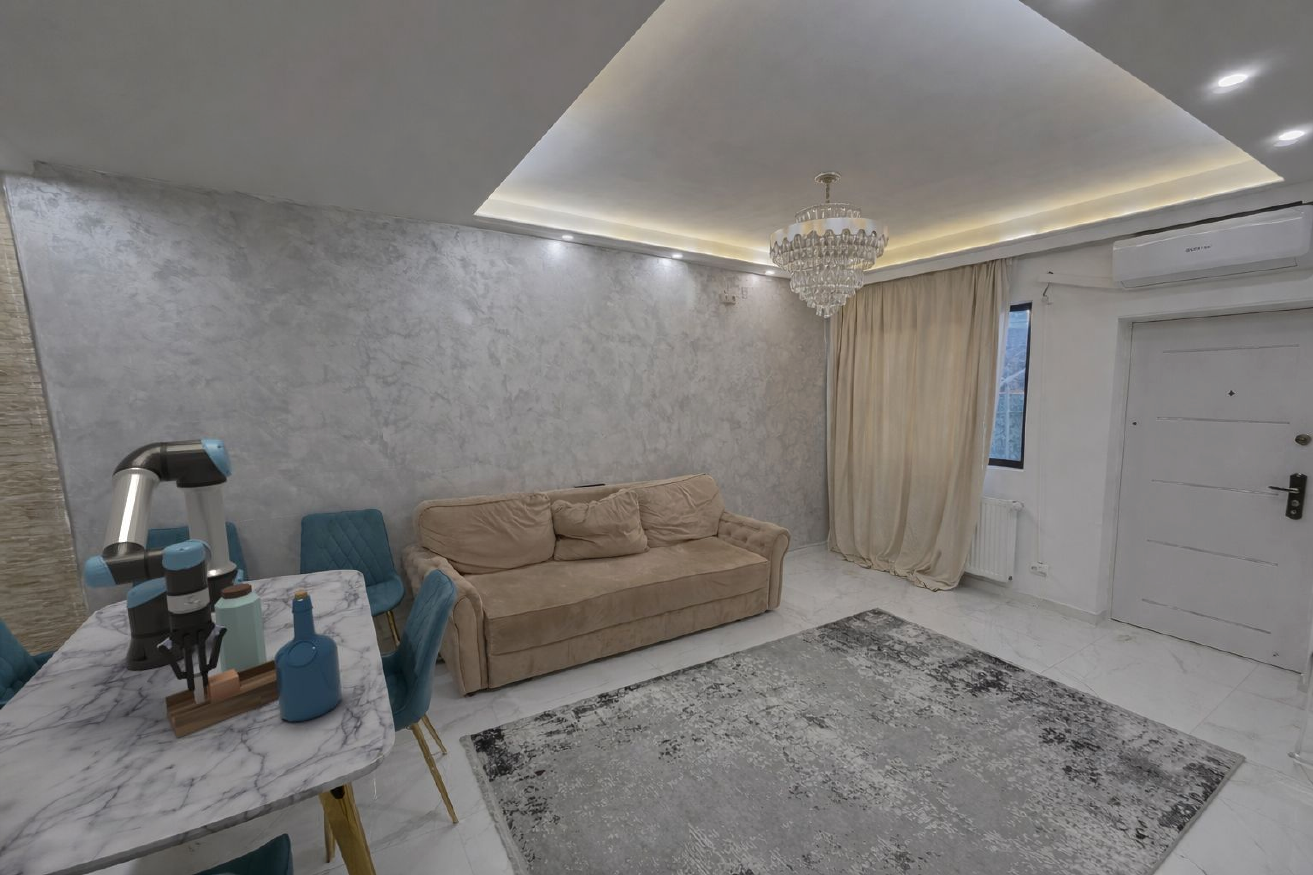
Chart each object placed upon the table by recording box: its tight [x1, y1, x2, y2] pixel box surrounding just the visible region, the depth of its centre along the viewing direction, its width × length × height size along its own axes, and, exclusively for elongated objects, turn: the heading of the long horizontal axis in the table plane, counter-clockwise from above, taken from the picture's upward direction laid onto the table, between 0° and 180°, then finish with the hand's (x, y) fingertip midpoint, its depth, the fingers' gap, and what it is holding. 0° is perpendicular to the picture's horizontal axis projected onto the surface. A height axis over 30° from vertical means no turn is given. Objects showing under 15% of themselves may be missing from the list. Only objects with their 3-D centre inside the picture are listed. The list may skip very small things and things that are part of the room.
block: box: [207, 669, 240, 703], centre depth 132 cm, size 6×6×6 cm
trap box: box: [164, 659, 278, 739], centre depth 137 cm, size 13×30×6 cm, turn 140°
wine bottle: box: [273, 590, 342, 723], centre depth 131 cm, size 14×13×30 cm
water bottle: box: [214, 583, 268, 673], centre depth 147 cm, size 10×10×25 cm
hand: (199, 700), depth 129 cm, fingers closed
